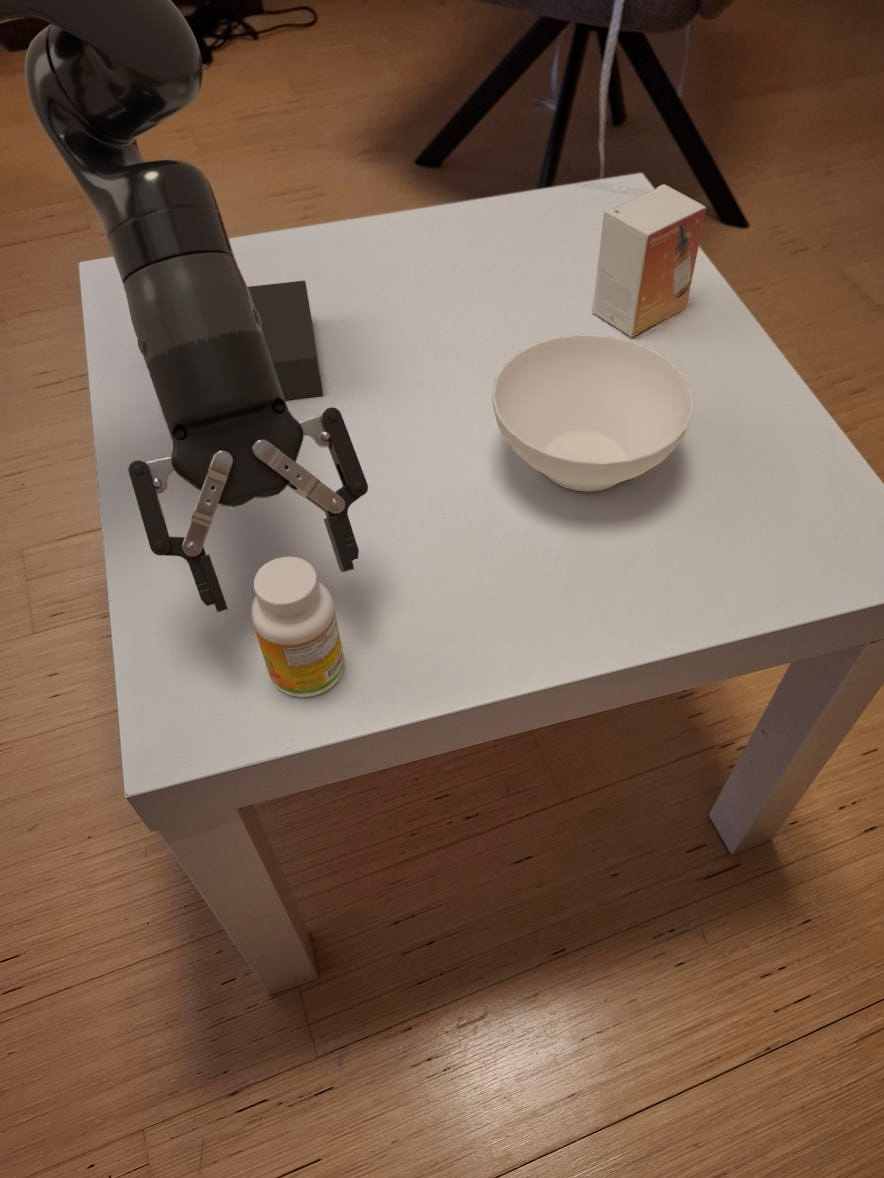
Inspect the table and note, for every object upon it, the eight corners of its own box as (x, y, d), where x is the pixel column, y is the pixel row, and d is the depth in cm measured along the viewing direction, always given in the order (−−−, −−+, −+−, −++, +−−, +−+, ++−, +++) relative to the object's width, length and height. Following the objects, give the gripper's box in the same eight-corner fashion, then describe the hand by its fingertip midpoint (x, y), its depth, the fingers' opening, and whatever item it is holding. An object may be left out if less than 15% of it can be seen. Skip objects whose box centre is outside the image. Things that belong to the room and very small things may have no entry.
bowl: (597, 560, 73) (606, 495, 68) (452, 463, 80) (449, 396, 74) (716, 459, 80) (734, 392, 74) (574, 377, 87) (580, 310, 81)
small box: (631, 339, 90) (646, 236, 82) (590, 313, 93) (601, 210, 84) (688, 308, 93) (709, 205, 85) (647, 283, 96) (664, 181, 87)
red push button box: (165, 415, 84) (146, 358, 79) (166, 335, 91) (148, 279, 86) (323, 395, 85) (313, 339, 80) (311, 318, 92) (302, 262, 87)
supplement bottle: (263, 647, 68) (235, 558, 60) (336, 630, 69) (318, 539, 61) (276, 707, 65) (248, 621, 57) (352, 688, 66) (335, 600, 58)
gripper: (306, 331, 64) (377, 557, 67) (96, 383, 61) (180, 619, 64) (319, 304, 57) (398, 559, 60) (81, 361, 54) (176, 629, 57)
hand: (285, 590), depth 62 cm, fingers open, 8 cm apart
